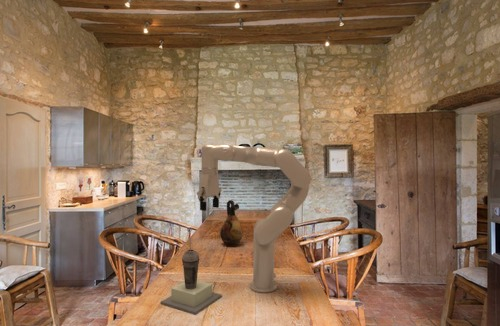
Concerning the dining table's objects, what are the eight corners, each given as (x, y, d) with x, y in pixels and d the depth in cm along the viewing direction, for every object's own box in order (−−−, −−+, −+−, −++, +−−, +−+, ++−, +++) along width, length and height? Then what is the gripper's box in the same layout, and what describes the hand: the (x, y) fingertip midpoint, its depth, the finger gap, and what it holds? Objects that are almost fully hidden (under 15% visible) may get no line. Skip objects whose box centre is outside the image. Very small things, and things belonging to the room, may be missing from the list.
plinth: (189, 288, 149) (189, 275, 149) (221, 296, 141) (221, 283, 140) (160, 304, 134) (160, 289, 133) (195, 314, 125) (195, 299, 125)
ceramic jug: (247, 245, 218) (247, 201, 218) (227, 249, 210) (227, 203, 209) (234, 240, 233) (234, 198, 232) (214, 243, 224) (215, 200, 223)
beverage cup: (183, 291, 131) (183, 242, 131) (180, 285, 138) (180, 238, 137) (201, 289, 134) (201, 240, 134) (197, 282, 141) (197, 236, 140)
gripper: (214, 170, 159) (213, 205, 159) (191, 172, 144) (191, 211, 144) (226, 171, 155) (226, 206, 156) (204, 172, 140) (204, 212, 141)
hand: (209, 208), depth 150 cm, fingers open, 9 cm apart
